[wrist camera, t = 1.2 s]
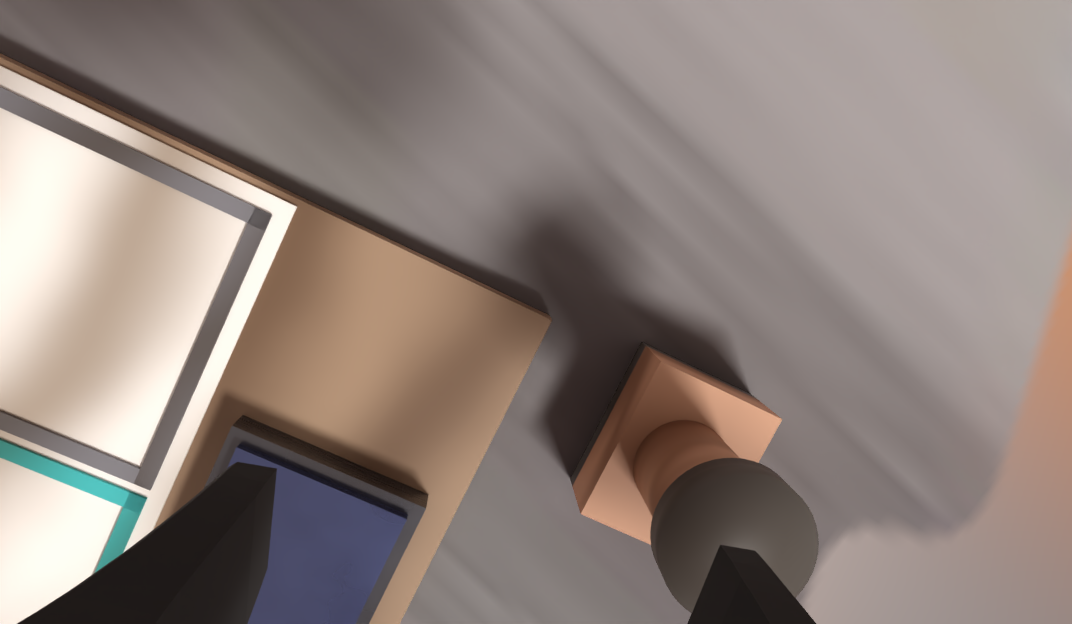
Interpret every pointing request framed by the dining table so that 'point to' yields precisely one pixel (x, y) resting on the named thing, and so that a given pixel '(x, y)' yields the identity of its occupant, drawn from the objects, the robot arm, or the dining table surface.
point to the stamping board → (211, 341)
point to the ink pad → (323, 528)
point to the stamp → (693, 476)
